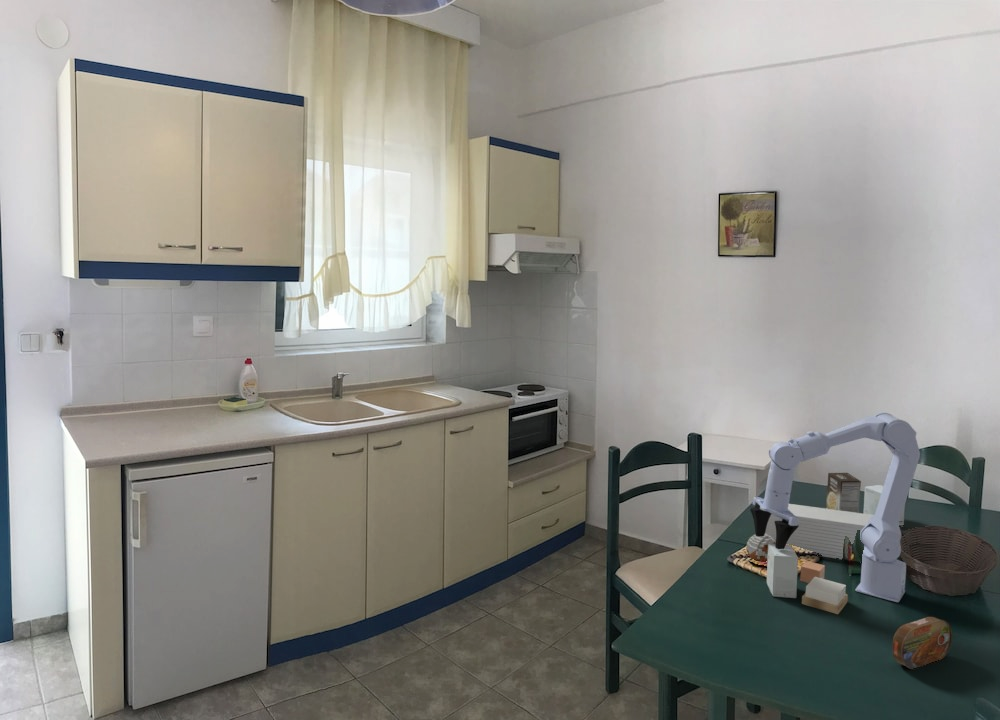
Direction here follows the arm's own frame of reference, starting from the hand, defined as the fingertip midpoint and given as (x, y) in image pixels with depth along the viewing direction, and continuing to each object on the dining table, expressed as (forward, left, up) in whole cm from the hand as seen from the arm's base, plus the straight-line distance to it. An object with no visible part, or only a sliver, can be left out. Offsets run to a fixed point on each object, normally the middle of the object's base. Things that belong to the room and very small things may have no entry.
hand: (769, 542), depth 171 cm
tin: (-36, +15, -11) cm, 41 cm away
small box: (-4, +2, -11) cm, 12 cm away
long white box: (-3, -33, -12) cm, 35 cm away
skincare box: (-12, -70, -11) cm, 72 cm away
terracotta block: (-8, -10, -11) cm, 17 cm away
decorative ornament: (+6, -13, -11) cm, 18 cm away
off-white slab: (-14, +1, -9) cm, 17 cm away
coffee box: (-3, -57, -11) cm, 58 cm away
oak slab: (-14, +1, -12) cm, 18 cm away
